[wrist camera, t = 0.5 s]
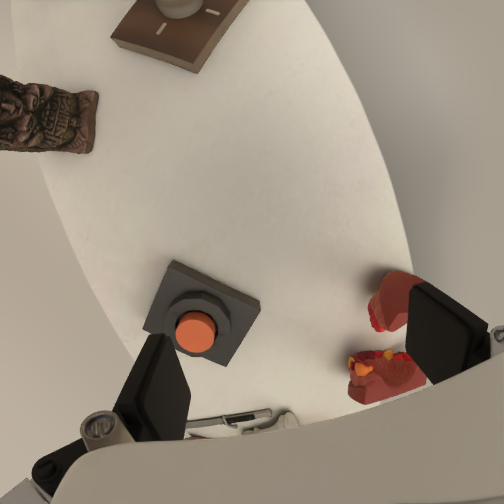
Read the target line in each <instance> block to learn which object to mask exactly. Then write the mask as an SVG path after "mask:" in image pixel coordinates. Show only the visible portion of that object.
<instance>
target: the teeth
mask: <svg viewBox="0 0 504 504" xmlns="http://www.w3.org/2000/svg"><path fill="white" fill-rule="evenodd" d="M422 282H426V281H424V280H423V279H421V278H419V277H417V276H415V275H411V274H408V273H405V272H401V271H392V272H390V273H388V274H386V275H385V276H384V278H383V280H382V281H381V283H380V286H379V290H378V291H377V292H376V293H375V294H374V295H373V296H372V298H371V299H370V302H369V304H368V311H369V315H370V321H371V325H372V327H373V328H374V329H375V331H376V332H383V331H385V330H387V331H390V332H393V331H396V330H397V329H399V328H400V327H402V326H403V325H405V324H406V323H407V320H408V304H409V291H410V289H412V287H413V285H415V284H418V283H422ZM374 354H375V356H374ZM348 369H349V372H350V378H351V380H350V382H349V385H348V395H349V396H350V397H351V398H352V399H353V400H355V401H357V402H359V403H361V404H364V405H367V404H371V403H374V402H377V401H381V400H384V399H387V398H390V397H393V396H396V395H399V394H402V393H405V392H407V391H410V390H413V389H416V388H418V387H420V386H423V385H425V384H426V378H427V376H426V375H425V374H424V373H423V372H422V370H421V369H420V368H419V367H418V366H417V364H416V363H415V362H414V361H413V360H412V358H411V357H410V356H409V355H408V354H407V352H406V353H404V352H397V353H393V352H392V351H391V350H387V351H386V352H384V354H383V351H375V352H374V351H366V352H361V353H359V354H358V355H357V354H356V355H354V357H353V358H352V357H351V356H350V358H349V361H348Z"/></svg>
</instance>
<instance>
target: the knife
mask: <svg viewBox="0 0 504 504" xmlns="http://www.w3.org/2000/svg"><path fill="white" fill-rule="evenodd" d="M261 417H272V412H271V410H270V409H266V410H260V411H254V412H249V413H243V414H237V415H230V416H225V415H223V416H221V417H220V418H215V419H207V420H200V421H192V422H186V427H185V429H187V428H198V427H206V426H212V425H218V424H221V425H222V424H225V425H226V426H228V427H230V428H235V429H236V428H237V425H233V426H232V425H230V424H231V423H236V422H243V421H249V420H254V419H257V418H261Z"/></svg>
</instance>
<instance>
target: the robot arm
mask: <svg viewBox="0 0 504 504" xmlns="http://www.w3.org/2000/svg"><path fill="white" fill-rule="evenodd" d="M487 329H488V323H486V322H485V321H484V320H482V319H481V318H479V317H478V316H477V315H475V314H474V313H472V312H471V311H469V310H468V309H467V308H465V307H464V306H462V305H461V304H460V303H458V302H457V301H455V300H454V299H452V298H451V297H449V296H448V295H446V294H445V293H443V292H442V291H440V290H439V289H437V288H436V287H434V286H433V285H431V284H430V283H428V282H422V283H418V284H415V285H413V287H412V289H410V291H409V304H408V320H407V333H406V344H405V348H406V352H407V354H408V355H409V356H410V357H411V358H412V360H413V361H414V362H415V363H416V364H417V366H418V367H419V368H420V369H421V370H422V372H423V373H424V374H425V375H426V376H427V378H428V379H429V380H430V381H431V383H432V384H433V386H431V387H428V388H426V389H423V390H421V391H418V392H415V393H413V394H410V395H408V396H405V397H402V398H399V399H397V400H394V401H391V402H388V403H385V404H382V405H379V406H376V407H373V408H370V409H366V410H363V411H360V412H356V413H353V414H349V415H345V416H342V417H338V418H334V419H330V420H326V421H322V422H317V423H313V424H308V425H303V426H299V427H293V428H288V429H283V430H277V431H271V432H264V433H257V434H250V435H242V436H233V437H223V438H211V439H196V440H183V439H184V433H185V427H186V422H187V416H188V411H189V405H190V400H191V393H190V389H189V386H188V384H187V381H186V378H185V376H184V373H183V370H182V368H181V365H180V362H179V359H178V357H177V354H176V351H175V348H174V345H173V342H172V339H171V337H170V336H166V335H165V334H164V333H158V334H150V335H149V336H148V338H147V340H146V342H145V344H144V346H143V348H142V350H141V352H140V354H139V356H138V358H137V360H136V362H135V364H134V366H133V368H132V370H131V372H130V374H129V376H128V378H127V380H126V382H125V384H124V386H123V388H122V391H121V393H120V395H119V397H118V399H117V401H116V403H115V406H114V408H113V410H112V411H106V410H105V411H98V412H95V413H93V414H91V415H89V416H88V417H87V418H86V419H85V420H84V421H83V422H82V424H81V427H80V434H81V436H82V438H80V439H78V440H77V441H75V442H73V443H71V444H69V445H67V446H65V447H63V448H61V449H59V450H57V451H55V452H52V453H50V454H48V455H46V456H44V457H42V458H41V459H39V460H38V461H37V462H36V463H35V464H34V467H33V468H32V479H31V480H29V479H28V478H26V479H24V480H23V481H22V482H21V483H19V484H18V485H17V486H16V487H14V488H13V489H12V490H11V491H9V492H8V493H7V494H5V495H4V496H3V497H2V498H0V504H504V325H503V326H497V327H495V328H493V329H492V330H491V332H490V333H488V332H487Z"/></svg>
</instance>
